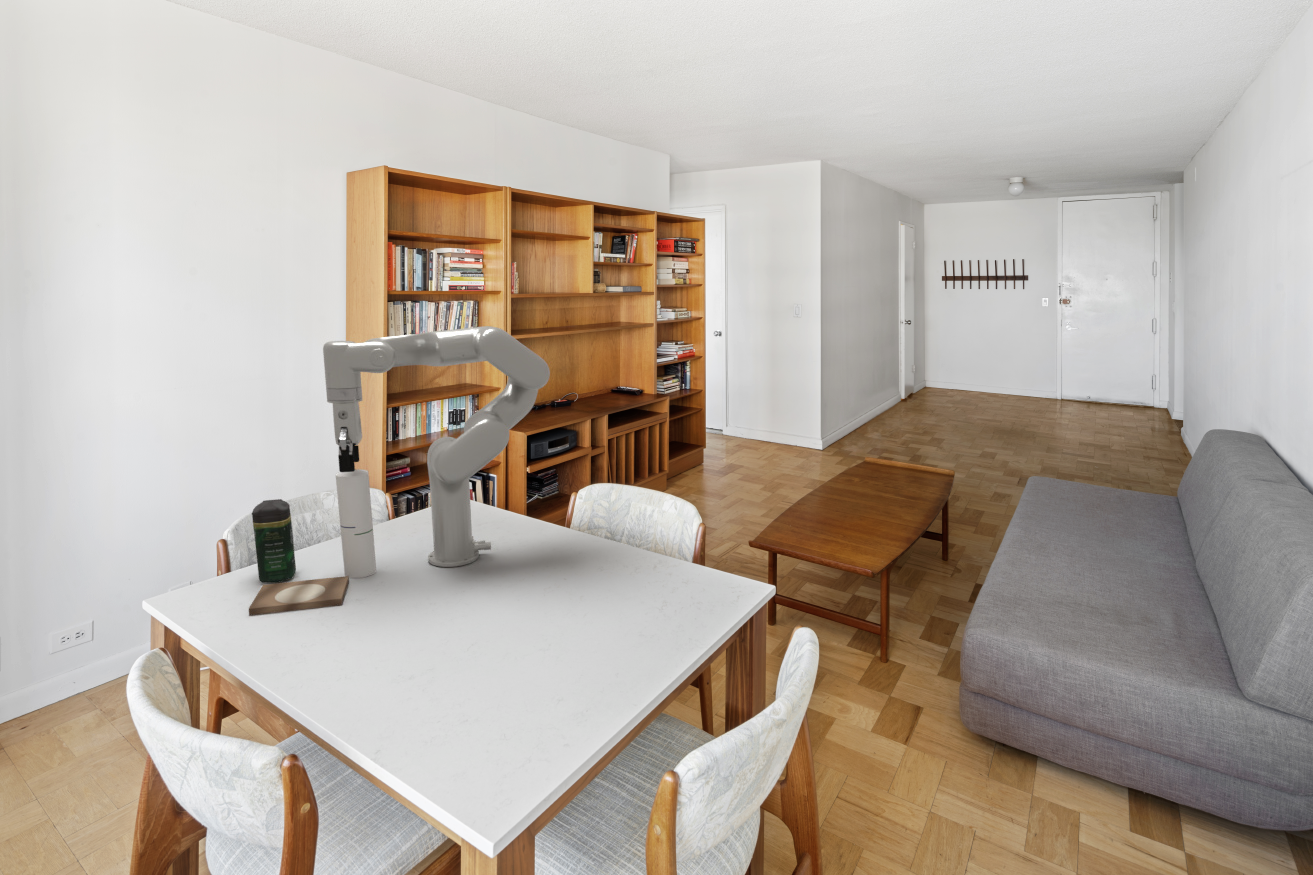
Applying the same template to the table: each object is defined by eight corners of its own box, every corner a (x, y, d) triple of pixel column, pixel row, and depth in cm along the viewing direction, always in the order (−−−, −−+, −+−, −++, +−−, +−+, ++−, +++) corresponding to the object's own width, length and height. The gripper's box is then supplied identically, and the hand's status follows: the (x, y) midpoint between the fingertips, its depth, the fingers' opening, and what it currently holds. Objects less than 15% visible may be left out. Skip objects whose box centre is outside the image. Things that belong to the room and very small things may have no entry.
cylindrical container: (350, 567, 173) (341, 469, 168) (380, 566, 174) (372, 469, 169) (340, 578, 166) (330, 477, 161) (371, 577, 167) (362, 476, 162)
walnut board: (349, 581, 164) (348, 575, 164) (341, 604, 152) (341, 598, 152) (263, 590, 159) (263, 584, 159) (249, 615, 147) (248, 608, 147)
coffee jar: (295, 581, 165) (287, 506, 161) (257, 586, 162) (248, 510, 158) (298, 567, 173) (290, 495, 170) (262, 571, 170) (253, 498, 166)
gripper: (358, 399, 154) (363, 474, 158) (365, 389, 171) (370, 457, 174) (320, 400, 152) (327, 476, 156) (332, 390, 168) (337, 459, 172)
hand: (349, 466), depth 165 cm, fingers open, 9 cm apart
